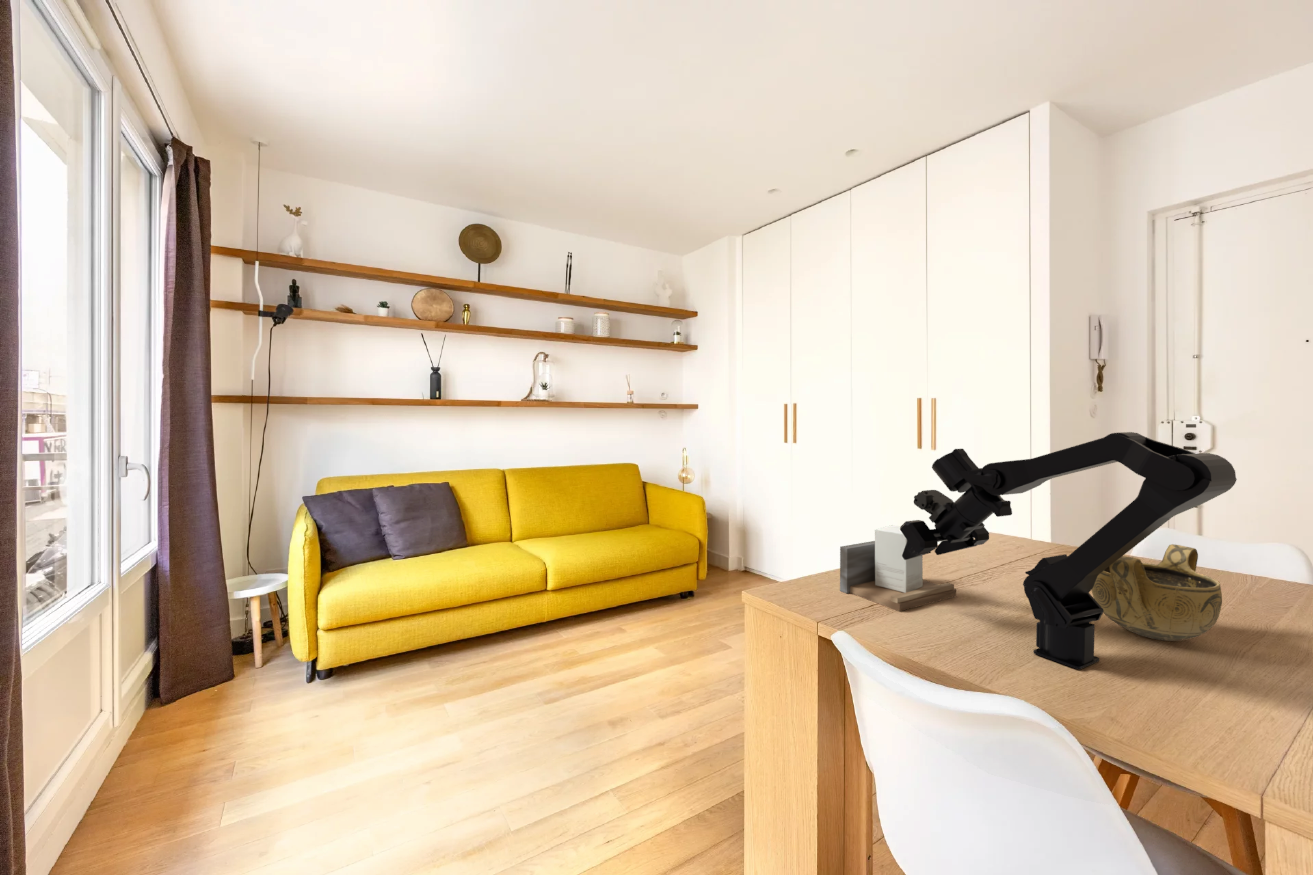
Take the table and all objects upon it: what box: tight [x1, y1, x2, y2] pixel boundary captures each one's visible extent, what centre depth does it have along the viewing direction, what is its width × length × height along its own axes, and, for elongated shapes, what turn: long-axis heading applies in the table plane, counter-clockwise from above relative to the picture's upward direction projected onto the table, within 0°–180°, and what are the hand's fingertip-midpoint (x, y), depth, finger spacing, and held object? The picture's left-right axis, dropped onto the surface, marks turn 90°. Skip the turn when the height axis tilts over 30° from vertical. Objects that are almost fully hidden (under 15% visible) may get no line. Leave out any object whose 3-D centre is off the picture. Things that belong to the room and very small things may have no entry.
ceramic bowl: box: [1091, 543, 1223, 642], centre depth 93 cm, size 22×17×15 cm
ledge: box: [839, 540, 957, 612], centre depth 115 cm, size 14×20×10 cm
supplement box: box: [874, 524, 924, 593], centre depth 115 cm, size 7×7×13 cm
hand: (920, 555), depth 109 cm, fingers open, 9 cm apart
